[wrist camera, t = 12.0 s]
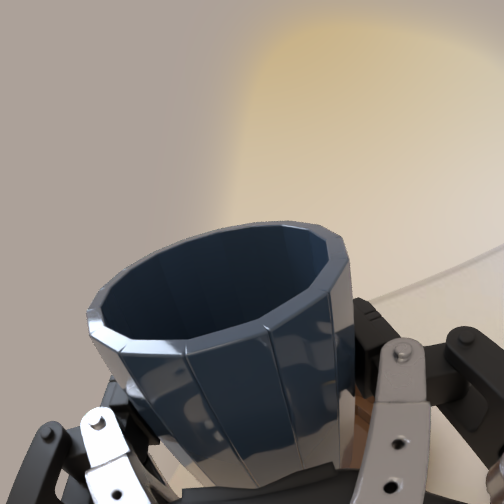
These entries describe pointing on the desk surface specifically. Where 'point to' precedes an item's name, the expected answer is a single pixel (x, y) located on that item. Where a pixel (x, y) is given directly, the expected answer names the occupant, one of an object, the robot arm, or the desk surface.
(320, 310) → the cup
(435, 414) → the desk surface
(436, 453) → the desk surface
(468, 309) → the desk surface
